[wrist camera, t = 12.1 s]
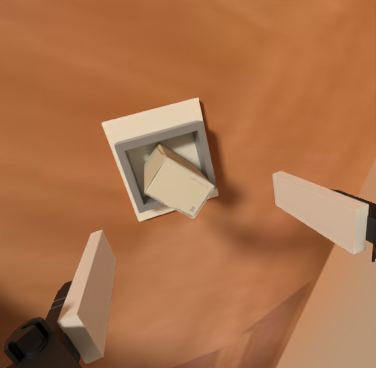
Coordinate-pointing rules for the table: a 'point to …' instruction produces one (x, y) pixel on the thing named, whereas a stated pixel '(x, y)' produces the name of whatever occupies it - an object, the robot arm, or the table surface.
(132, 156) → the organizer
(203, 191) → the skincare box
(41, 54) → the table surface
